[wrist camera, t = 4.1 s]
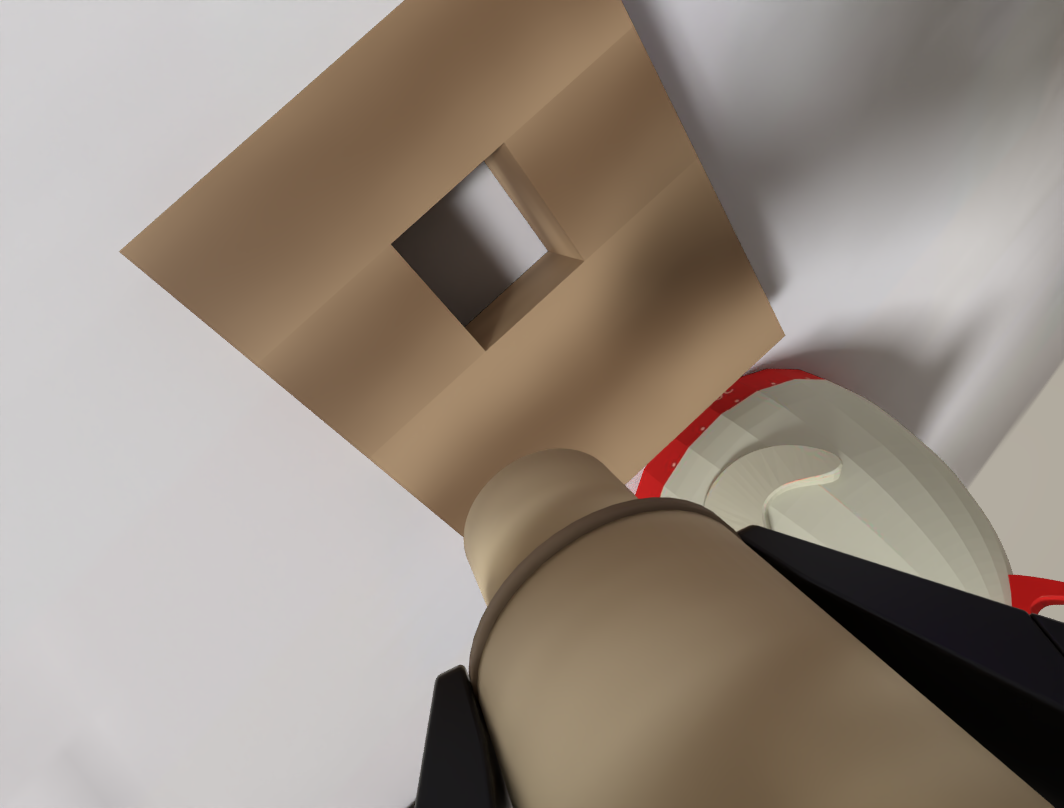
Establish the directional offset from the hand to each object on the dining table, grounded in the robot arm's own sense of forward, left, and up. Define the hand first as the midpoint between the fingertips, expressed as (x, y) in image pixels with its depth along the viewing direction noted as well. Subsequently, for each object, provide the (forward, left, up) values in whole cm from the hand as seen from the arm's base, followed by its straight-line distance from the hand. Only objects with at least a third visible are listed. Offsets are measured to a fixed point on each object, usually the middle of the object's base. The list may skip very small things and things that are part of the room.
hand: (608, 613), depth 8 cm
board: (0, -4, -13) cm, 14 cm away
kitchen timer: (-17, -7, -14) cm, 22 cm away
